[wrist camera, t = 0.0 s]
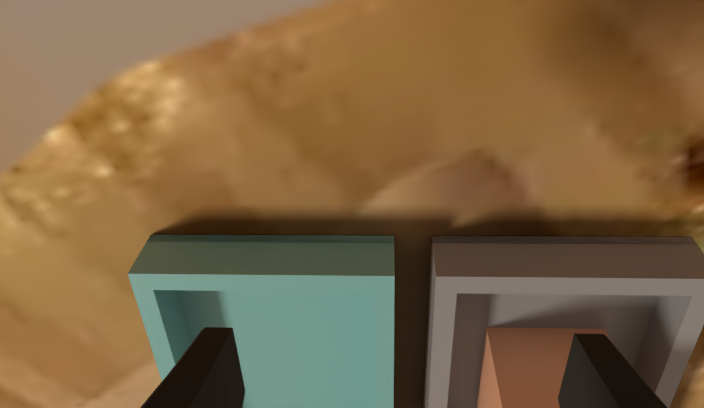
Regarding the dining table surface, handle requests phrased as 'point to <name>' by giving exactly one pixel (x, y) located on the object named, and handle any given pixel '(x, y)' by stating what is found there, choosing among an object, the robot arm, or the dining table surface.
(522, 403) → the terracotta block
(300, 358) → the teal bin
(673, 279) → the grey bin
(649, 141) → the dining table surface
